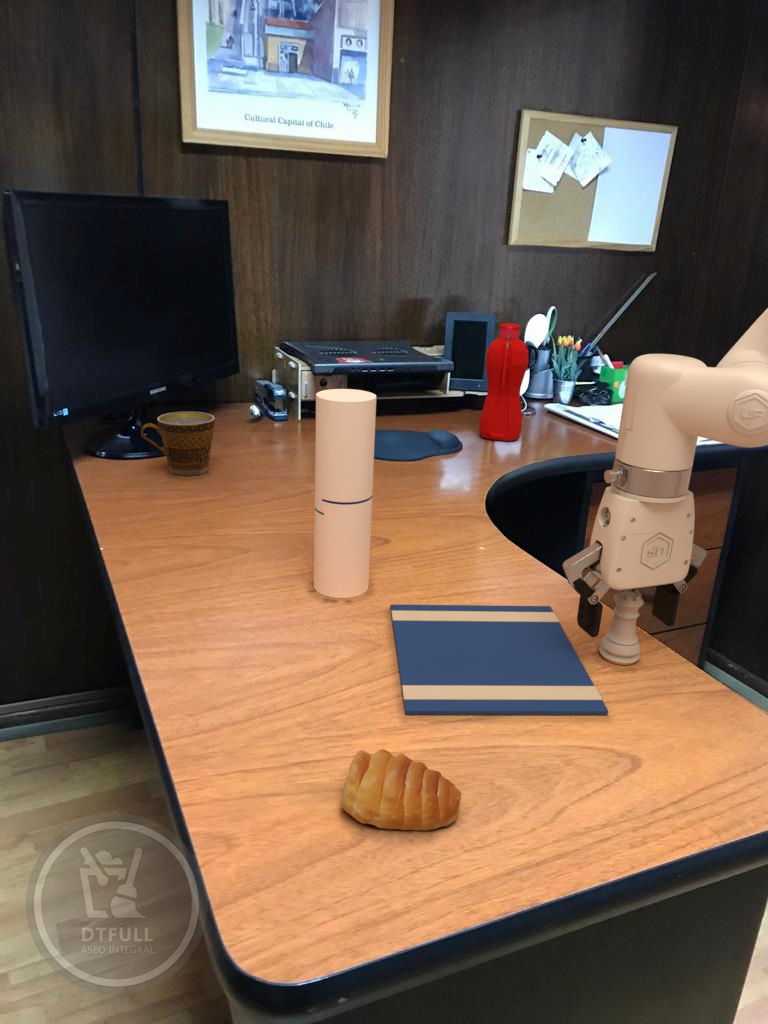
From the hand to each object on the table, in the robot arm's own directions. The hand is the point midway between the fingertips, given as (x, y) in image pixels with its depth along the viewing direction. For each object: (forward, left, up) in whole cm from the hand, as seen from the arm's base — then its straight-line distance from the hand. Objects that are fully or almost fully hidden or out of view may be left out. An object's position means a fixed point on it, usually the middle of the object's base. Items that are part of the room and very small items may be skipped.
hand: (625, 625), depth 85 cm
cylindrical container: (+31, -17, -4) cm, 36 cm away
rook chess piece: (0, 0, -4) cm, 4 cm away
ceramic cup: (+60, -63, -4) cm, 87 cm away
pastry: (+27, +23, -4) cm, 36 cm away
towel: (+15, 0, -4) cm, 16 cm away
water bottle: (-5, -93, -4) cm, 93 cm away
